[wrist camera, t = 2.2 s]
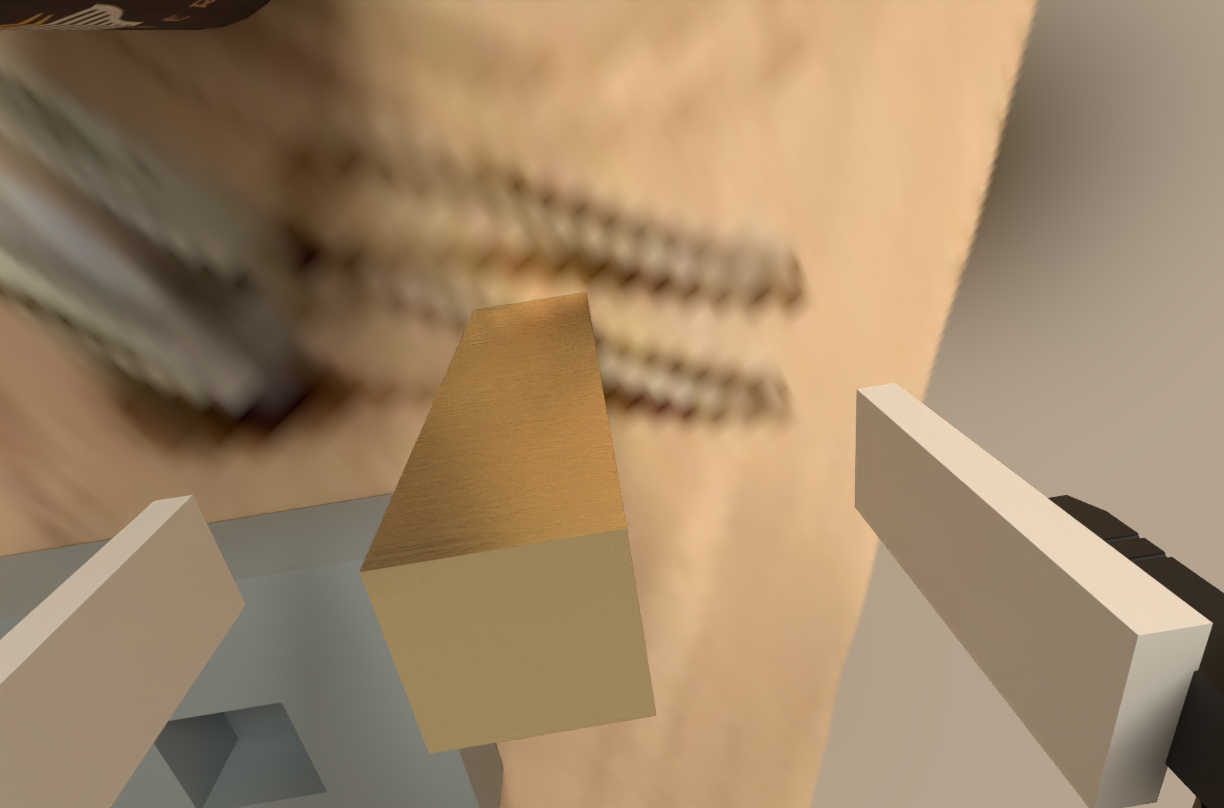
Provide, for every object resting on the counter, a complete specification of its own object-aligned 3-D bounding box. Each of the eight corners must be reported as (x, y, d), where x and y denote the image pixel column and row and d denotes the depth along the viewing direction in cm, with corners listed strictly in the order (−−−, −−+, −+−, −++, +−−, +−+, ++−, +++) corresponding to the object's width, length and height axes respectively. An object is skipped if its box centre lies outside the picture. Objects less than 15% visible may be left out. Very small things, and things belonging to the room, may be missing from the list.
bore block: (-5, 557, 21) (-105, 636, 18) (414, 489, 21) (389, 555, 18) (175, 821, 27) (124, 916, 24) (502, 766, 27) (495, 853, 24)
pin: (473, 310, 19) (358, 572, 8) (586, 292, 19) (627, 527, 8) (497, 412, 20) (429, 753, 9) (602, 395, 20) (656, 715, 9)
